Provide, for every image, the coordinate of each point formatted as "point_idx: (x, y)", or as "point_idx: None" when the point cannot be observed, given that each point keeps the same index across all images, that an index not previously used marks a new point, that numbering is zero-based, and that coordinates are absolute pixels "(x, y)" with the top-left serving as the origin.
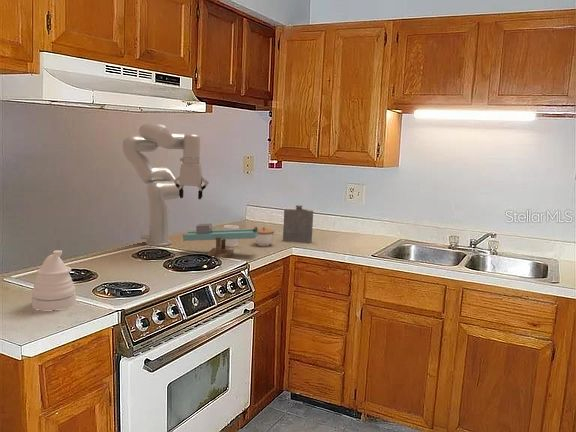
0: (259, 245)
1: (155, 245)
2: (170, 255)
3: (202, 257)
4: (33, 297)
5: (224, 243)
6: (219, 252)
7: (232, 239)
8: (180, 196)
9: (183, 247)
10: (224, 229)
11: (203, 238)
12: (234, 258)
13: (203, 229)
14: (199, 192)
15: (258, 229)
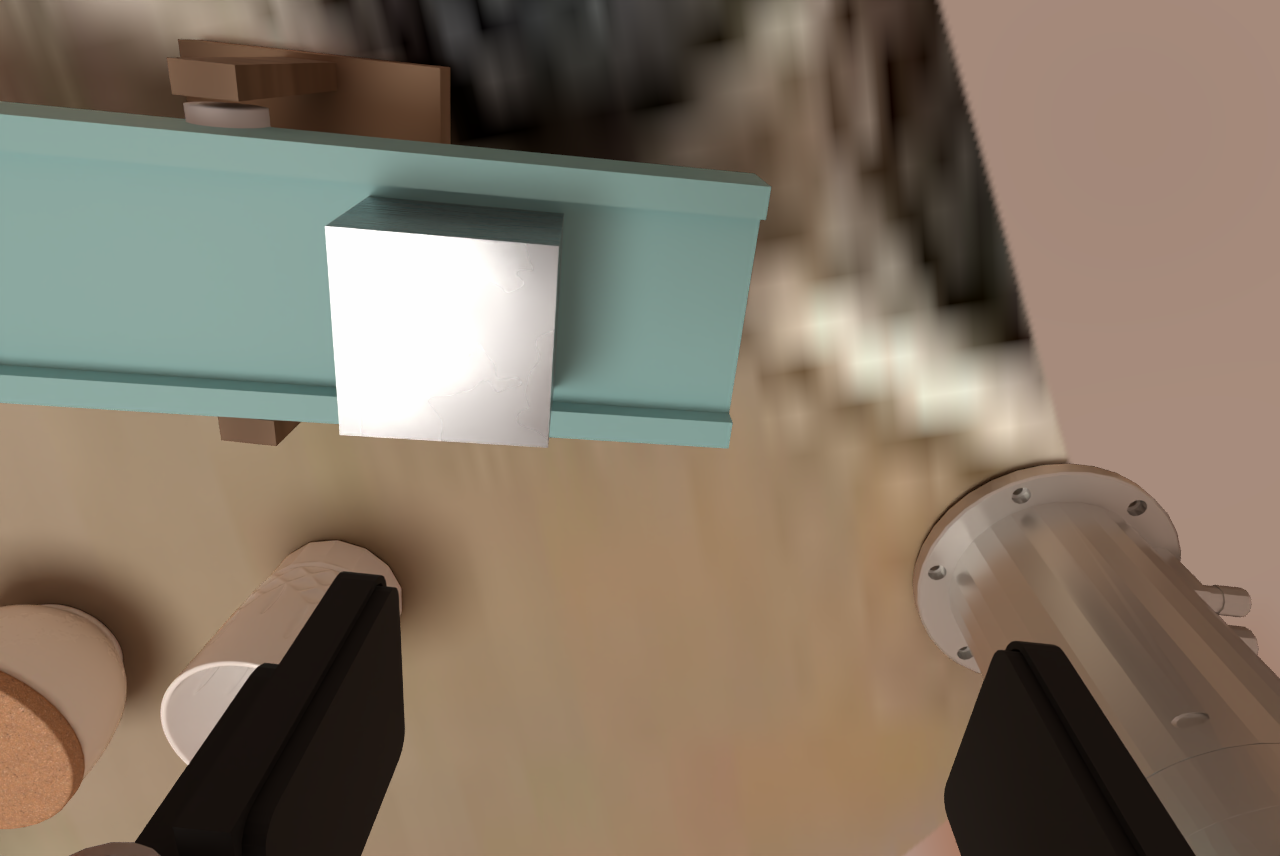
0: (86, 615)
1: (1070, 464)
2: (878, 60)
3: (494, 20)
4: None
5: None
6: (280, 57)
7: (277, 582)
8: (1067, 679)
9: (774, 456)
10: None
11: (458, 146)
12: (129, 35)
13: (439, 220)
14: (227, 762)
15: (22, 779)
